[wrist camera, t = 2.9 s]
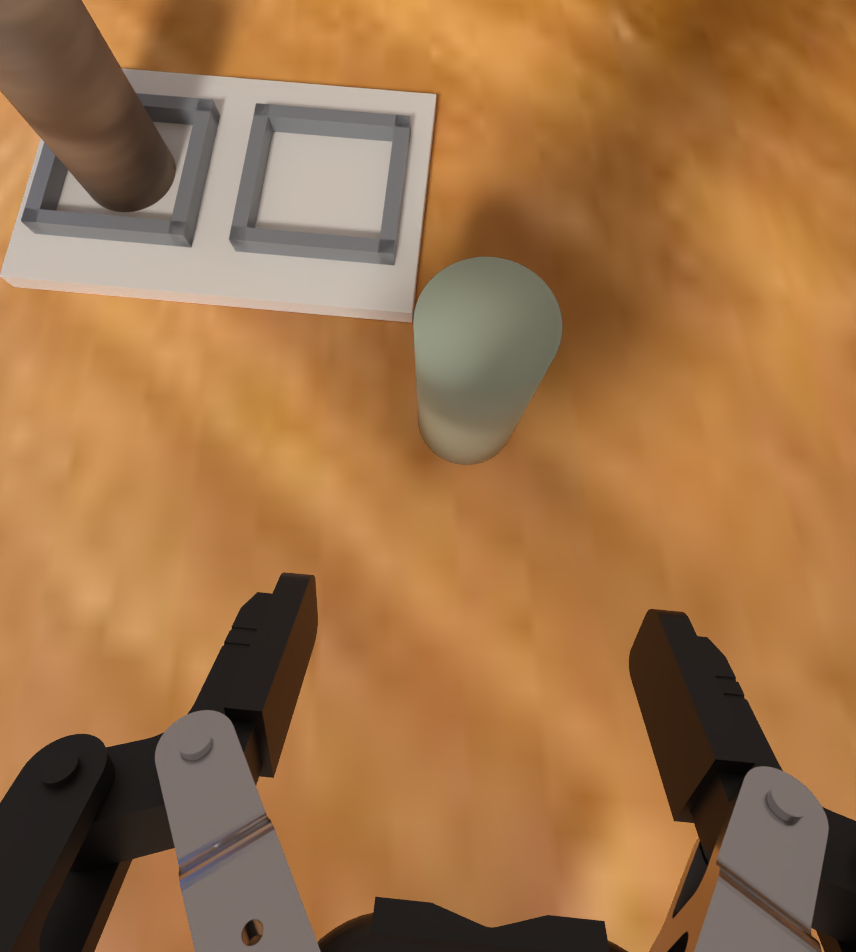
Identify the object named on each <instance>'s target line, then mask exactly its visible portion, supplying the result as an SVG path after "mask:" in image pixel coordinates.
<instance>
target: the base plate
mask: <svg viewBox="0 0 856 952" xmlns="http://www.w3.org/2000/svg"><path fill="white" fill-rule="evenodd" d="M121 69H122V70H123V72H124V74H125V76H126V77H127V79H128V81H129V82H130V84H131V86H132V88H133V89H134V91H135V93H136V94H137V96H138V98H139V99H140V101H141V103H142V105H143V106H144V108H145V110H146V111H147V113H148V115H149V117H150V118H151V120H152V122H153V123H154V125H155V127H156V129H157V130H158V132H159V134H160V135H161V137H162V139H163V140H164V142H165V144H166V146H167V147H168V149H169V151H170V152H171V154H172V156H173V158H174V161H175V168H176V172H175V178H174V181H173V184H172V186H171V187H170V189H169V191H168V192H167V193H166V195H165V196H164V197H163V198H162V199H160V200H159V201H158V202H156V203H155V204H153V205H152V206H150V207H147V208H145V209H142V210H139V211H134V212H116V211H112V210H109V209H106V208H104V207H102V206H101V205H99V204H98V203H96V202H95V201H94V200H93V199H92V197H91V196H90V195H89V194H88V193H87V191H86V190H85V189H84V188H83V187H82V186H81V184H80V183H79V182H78V181H77V180H76V179H75V177H74V176H73V175H72V174H71V173H70V172H69V170H68V169H67V168H66V167H65V166H64V165H63V163H62V162H61V161H60V160H59V159H58V158H57V156H56V155H55V154H54V153H53V152H52V150H51V149H50V148H49V147H48V146H47V145H46V143H45V142H44V141H43V140H42V139H41V140H40V143H39V146H38V150H37V153H36V156H35V160H34V163H33V166H32V170H31V173H30V176H29V180H28V183H27V186H26V190H25V193H24V196H23V200H22V203H21V206H20V210H19V213H18V216H17V220H16V223H15V226H14V230H13V233H12V236H11V240H10V243H9V246H8V250H7V253H6V256H5V260H4V263H3V266H2V270H1V273H0V277H1V278H2V279H4V280H5V281H7V282H8V283H9V284H11V285H12V286H13V287H20V288H31V289H42V290H54V291H65V292H76V293H87V294H98V295H109V296H120V297H131V298H143V299H154V300H165V301H176V302H187V303H198V304H209V305H221V306H232V307H243V308H254V309H265V310H276V311H287V312H298V313H310V314H321V315H332V316H343V317H354V318H365V319H376V320H388V321H399V322H410V323H412V319H413V310H414V301H415V292H416V283H417V274H418V265H419V256H420V248H421V239H422V230H423V221H424V212H425V203H426V194H427V185H428V176H429V167H430V158H431V150H432V141H433V132H434V123H435V114H436V94H427V93H415V92H403V91H391V90H379V89H366V88H354V87H342V86H330V85H318V84H306V83H293V82H281V81H269V80H257V79H245V78H233V77H220V76H208V75H196V74H184V73H172V72H160V71H148V70H135V69H123V68H121Z"/></svg>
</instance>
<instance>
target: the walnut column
mask: <svg viewBox="0 0 856 952" xmlns="http://www.w3.org/2000/svg"><path fill="white" fill-rule="evenodd" d="M0 91H1V92H2V93H3V94H4V95H5V97H6V98H7V99H8V100H9V101H10V102H11V104H12V105H13V106H14V107H15V108H16V109H17V111H18V112H19V113H20V114H21V115H22V117H23V118H24V119H25V120H26V121H27V122H28V124H29V125H30V126H31V127H32V128H33V129H34V131H35V132H36V133H37V134H38V135H39V136H40V138H41V139H42V140H43V141H44V142H45V143H46V145H47V146H48V147H49V148H50V149H51V150H52V152H53V153H54V154H55V155H56V156H57V158H58V159H59V160H60V161H61V162H62V163H63V165H64V166H65V167H66V168H67V169H68V170H69V172H70V173H71V174H72V175H73V176H74V177H75V179H76V180H77V181H78V182H79V183H80V184H81V186H82V187H83V188H84V189H85V190H86V191H87V193H88V194H89V195H90V196H91V197H92V199H93V200H94V201H95V202H96V203H98V204H99V205H101V206H102V207H104V208H106V209H109V210H112V211H116V212H134V211H139V210H142V209H145V208H147V207H150V206H152V205H153V204H155V203H156V202H158V201H159V200H160V199H162V198H163V197H164V196H165V195H166V193H167V192H168V191H169V189H170V187H171V186H172V184H173V181H174V178H175V172H176V168H175V161H174V158H173V156H172V154H171V152H170V151H169V149H168V147H167V146H166V144H165V142H164V140H163V139H162V137H161V135H160V134H159V132H158V130H157V129H156V127H155V125H154V123H153V122H152V120H151V118H150V117H149V115H148V113H147V111H146V110H145V108H144V106H143V105H142V103H141V101H140V99H139V98H138V96H137V94H136V93H135V91H134V89H133V88H132V86H131V84H130V82H129V81H128V79H127V77H126V76H125V74H124V72H123V70H122V69H121V67H120V65H119V64H118V62H117V60H116V58H115V57H114V55H113V53H112V52H111V50H110V48H109V46H108V45H107V43H106V41H105V40H104V38H103V36H102V35H101V33H100V31H99V29H98V28H97V26H96V24H95V23H94V21H93V19H92V17H91V16H90V14H89V12H88V11H87V9H86V7H85V5H84V4H83V2H82V0H0Z"/></svg>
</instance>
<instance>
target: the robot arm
mask: <svg viewBox="0 0 856 952" xmlns="http://www.w3.org/2000/svg"><path fill="white" fill-rule="evenodd" d="M317 626H318V613H317V598H316V583H315V577H314V575H305V574H295V573H282V574H281V576H280V578H279V580H278V582H277V584H276V587H275V589H274V591H273V594H270V593H260V592H257V593H256V594H255V595H254V596H253V597H252V598H251V599H250V600H249V601H248V602H247V603H246V604H245V605H243V606H242V607H241V609H240V611H239V613H238V615H237V617H236V619H235V621H234V623H233V625H232V629H231V630H230V631H229V633H228V636H227V638H226V640H225V642H224V646H222V648H221V650H220V652H219V654H218V656H217V658H216V660H215V662H214V664H213V666H212V669H211V671H210V673H209V675H208V677H207V679H206V681H205V683H204V685H203V687H202V689H201V691H200V693H199V695H198V697H197V699H196V702H195V703H194V705H193V707H192V709H191V710H190V711H189V713H188V714H187V715H185V716H184V717H182V718H180V719H178V720H177V721H176V722H174V723H173V724H172V725H171V726H170V727H169V728H168V729H167V730H166V731H165V732H164V733H162V734H160V735H157V736H155V737H152V738H148V739H144V740H139V741H135V742H130V743H125V744H120V745H116V746H111V747H105V745H104V743H103V742H102V741H101V740H100V739H98V738H97V737H95V736H92V735H88V734H75V735H70V736H66V737H63V738H61V739H58V740H56V741H54V742H52V743H50V744H49V745H47V746H45V747H44V748H43V749H41V750H40V751H39V752H37V753H36V754H35V755H34V756H33V757H32V758H31V759H30V760H29V761H28V762H27V763H26V765H25V766H24V767H23V769H22V770H21V772H20V773H19V775H18V776H17V778H16V779H15V781H14V782H13V784H12V786H11V787H10V789H9V790H8V792H7V793H6V795H5V796H4V798H3V800H2V801H1V803H0V952H94V951H95V949H96V946H97V944H98V941H99V939H100V937H101V934H102V932H103V929H104V927H105V924H106V922H107V920H108V917H109V915H110V912H111V910H112V907H113V905H114V903H115V900H116V898H117V895H118V893H119V890H120V888H121V886H122V883H123V881H124V878H125V876H126V873H127V871H128V869H129V866H130V864H131V861H132V859H134V858H138V857H142V856H146V855H149V854H153V853H157V852H161V851H164V850H168V849H172V848H175V850H176V854H177V859H178V864H179V881H180V886H181V891H182V896H183V900H184V905H185V909H186V913H187V918H188V922H189V927H190V931H191V935H192V940H193V944H194V949H195V952H628V951H626V950H624V949H623V948H621V947H619V946H618V945H616V944H614V943H612V942H610V941H608V940H607V934H606V928H605V922H604V921H597V920H588V919H579V918H569V917H560V916H550V915H547V916H542V917H538V918H534V919H530V920H525V921H521V922H517V923H512V924H508V925H504V926H500V927H494V928H490V927H485V926H483V925H480V924H478V923H476V922H474V921H471V920H469V919H467V918H465V917H462V916H460V915H458V914H456V913H453V912H451V911H449V910H447V909H444V908H442V907H440V906H438V905H435V904H433V903H429V902H419V901H410V900H400V899H391V898H382V897H375V905H374V913H370V914H366V915H362V916H359V917H357V918H354V919H352V920H349V921H347V922H345V923H343V924H342V925H340V926H338V927H336V928H335V929H333V930H332V931H330V932H329V933H328V934H327V935H325V936H324V937H323V938H321V939H320V940H319V941H318V942H317V941H316V938H315V935H314V933H313V930H312V927H311V925H310V922H309V919H308V917H307V914H306V911H305V909H304V906H303V903H302V900H301V898H300V895H299V892H298V890H297V887H296V884H295V882H294V879H293V876H292V874H291V871H290V868H289V866H288V863H287V860H286V858H285V855H284V852H283V850H282V847H281V844H280V842H279V839H278V837H277V834H276V831H275V829H274V827H273V824H272V822H271V820H270V819H268V817H267V815H266V812H265V810H264V807H263V804H262V802H261V799H260V796H259V794H258V791H257V788H256V784H257V781H258V778H259V776H262V777H272V778H274V775H275V772H276V768H277V765H278V762H279V758H280V755H281V752H282V749H283V745H284V742H285V739H286V735H287V732H288V729H289V726H290V722H291V719H292V716H293V713H294V709H295V706H296V703H297V699H298V696H299V693H300V690H301V686H302V683H303V680H304V676H305V673H306V670H307V667H308V663H309V660H310V657H311V653H312V650H313V647H314V643H315V639H316V634H317ZM629 671H630V676H631V680H632V683H633V687H634V690H635V693H636V697H637V700H638V703H639V706H640V710H641V713H642V716H643V720H644V723H645V726H646V730H647V733H648V736H649V740H650V743H651V746H652V749H653V753H654V756H655V759H656V763H657V766H658V769H659V773H660V776H661V779H662V783H663V786H664V789H665V792H666V796H667V799H668V802H669V806H670V809H671V812H672V816H673V819H674V821H679V822H689V823H694V824H695V827H696V830H697V833H698V836H699V838H698V839H697V840H696V842H695V844H694V847H693V849H692V852H691V854H690V857H689V860H688V862H687V865H686V867H685V870H684V873H683V875H682V878H681V881H680V883H679V886H678V888H677V891H676V894H675V896H674V899H673V901H672V904H671V907H670V909H669V912H668V915H667V917H666V920H665V922H664V924H663V927H662V929H661V931H660V933H659V934H658V936H657V938H656V940H655V941H654V943H653V945H652V947H651V949H650V951H649V952H821V947H820V944H819V942H818V941H817V940H816V939H815V938H814V937H812V936H811V928H813V929H815V930H816V931H817V934H818V936H819V939H820V941H821V944H822V946H823V949H824V951H825V952H856V821H854V820H852V819H849V818H847V817H844V816H842V815H839V814H837V813H835V812H832V811H830V810H828V809H826V808H824V807H822V806H821V804H820V803H819V801H818V800H817V798H816V797H815V796H814V795H813V793H812V792H811V791H810V790H809V789H808V788H807V787H806V786H805V785H803V784H802V783H801V782H800V781H799V780H797V779H796V778H794V777H793V776H791V775H789V774H788V773H786V772H784V771H783V770H782V769H781V767H780V765H779V763H778V761H777V759H776V757H775V755H774V753H773V751H772V749H771V747H770V745H769V743H768V741H767V739H766V737H765V735H764V733H763V731H762V729H761V727H760V725H759V723H758V721H757V719H756V717H755V715H754V713H753V711H752V709H751V707H750V705H749V703H748V701H747V700H746V699H744V693H743V691H742V689H741V687H740V685H739V683H738V682H736V677H735V675H734V673H733V671H732V669H731V667H730V665H729V663H728V661H727V659H726V657H725V656H724V655H723V654H722V652H721V651H720V650H719V649H718V648H717V647H716V646H715V645H714V644H713V643H712V642H711V641H710V640H709V639H708V638H707V637H700V636H697V635H696V633H695V631H694V628H693V626H692V624H691V622H690V620H689V618H688V616H687V615H686V614H685V613H684V612H677V611H666V610H656V609H650V610H648V612H647V613H646V615H645V618H644V620H643V622H642V625H641V627H640V629H639V632H638V634H637V636H636V639H635V641H634V644H633V646H632V648H631V651H630V656H629Z"/></svg>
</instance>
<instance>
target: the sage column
mask: <svg viewBox="0 0 856 952" xmlns="http://www.w3.org/2000/svg"><path fill="white" fill-rule="evenodd" d="M413 326H414V349H415V369H416V390H417V411H418V425H419V430H420V433H421V435H422V438H423V440H424V441H425V443H426V444H427V446H428V447H429V448H430V449H431V450H432V451H433V452H434V453H435V454H436V455H438V456H439V457H441V458H443V459H444V460H447V461H449V462H452V463H456V464H463V465H471V464H477V463H481V462H484V461H486V460H489V459H490V458H492V457H494V456H495V455H496V454H498V453H499V452H500V451H501V450H502V449H503V448H504V446H505V445H506V444H507V442H508V440H509V438H510V437H511V435H512V433H513V431H514V429H515V428H516V426H517V424H518V422H519V420H520V419H521V417H522V415H523V413H524V411H525V410H526V408H527V406H528V404H529V402H530V400H531V399H532V397H533V395H534V393H535V391H536V390H537V388H538V386H539V384H540V382H541V381H542V379H543V377H544V375H545V373H546V372H547V370H548V368H549V366H550V364H551V363H552V361H553V359H554V357H555V355H556V353H557V351H558V348H559V346H560V342H561V337H562V327H563V326H562V316H561V311H560V308H559V305H558V302H557V300H556V298H555V296H554V294H553V292H552V291H551V290H550V288H549V287H548V285H547V284H546V283H545V282H544V281H543V280H542V279H541V278H540V277H539V276H538V275H537V274H535V273H534V272H533V271H531V270H530V269H528V268H527V267H525V266H523V265H521V264H519V263H516V262H513V261H511V260H507V259H503V258H497V257H475V258H469V259H465V260H461V261H459V262H456V263H454V264H452V265H450V266H448V267H446V268H444V269H443V270H442V271H440V272H439V273H437V274H436V275H435V276H434V277H433V278H432V279H431V280H430V281H429V282H428V284H427V285H426V286H425V288H424V289H423V291H422V292H421V294H420V296H419V299H418V301H417V304H416V307H415V311H414V319H413Z"/></svg>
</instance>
